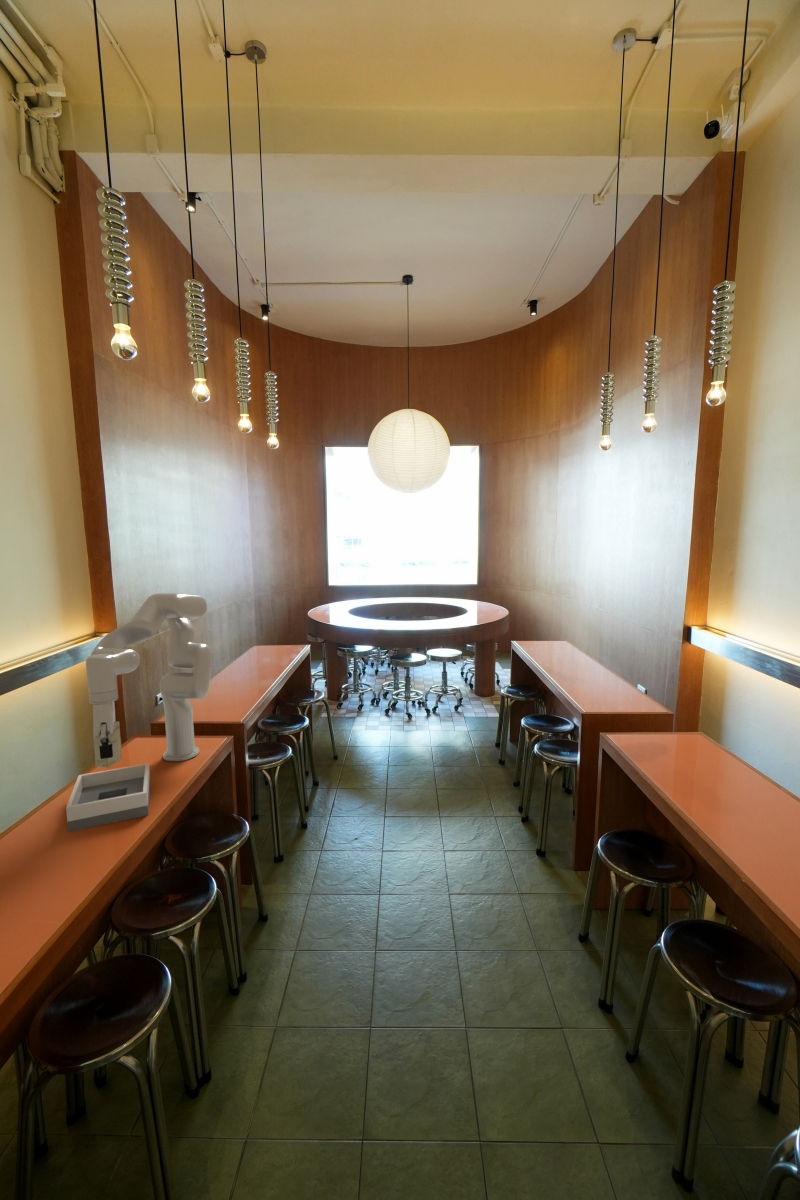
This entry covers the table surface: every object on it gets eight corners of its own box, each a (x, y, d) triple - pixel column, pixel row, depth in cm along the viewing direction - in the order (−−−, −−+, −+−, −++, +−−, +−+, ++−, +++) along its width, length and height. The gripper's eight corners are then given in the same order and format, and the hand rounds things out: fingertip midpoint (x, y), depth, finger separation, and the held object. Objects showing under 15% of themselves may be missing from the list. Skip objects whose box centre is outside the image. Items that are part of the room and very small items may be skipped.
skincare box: (107, 768, 152) (104, 728, 151) (94, 767, 153) (91, 727, 151) (123, 759, 158) (120, 721, 157) (110, 758, 159) (107, 720, 158)
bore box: (80, 796, 163) (78, 775, 162) (150, 783, 171) (148, 763, 170) (68, 831, 143) (66, 808, 142) (148, 815, 151) (146, 792, 151)
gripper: (92, 689, 159) (97, 744, 161) (84, 705, 144) (89, 766, 146) (120, 686, 162) (124, 740, 165) (115, 702, 147) (119, 761, 149)
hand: (108, 752), depth 155 cm, fingers closed on skincare box, 7 cm apart
